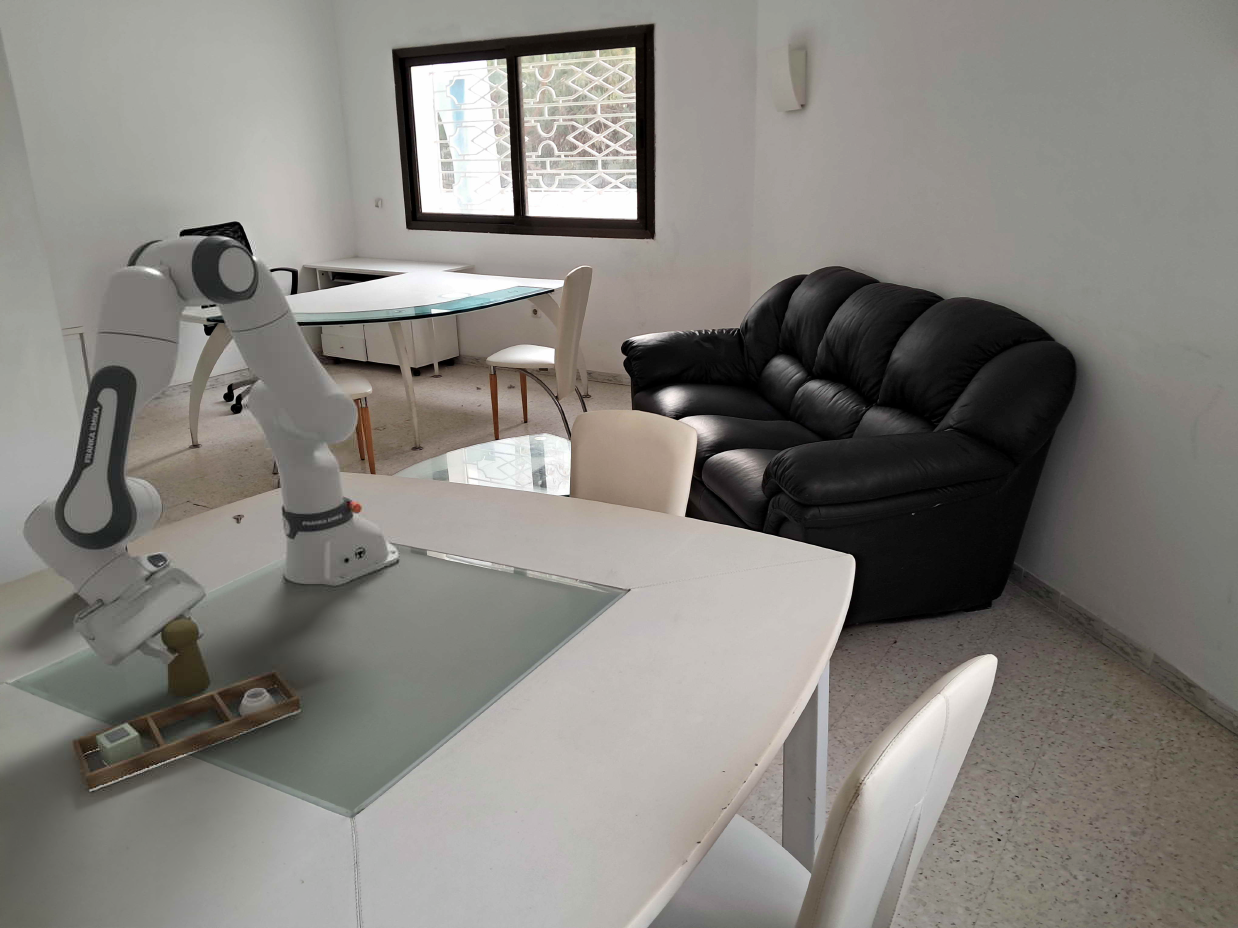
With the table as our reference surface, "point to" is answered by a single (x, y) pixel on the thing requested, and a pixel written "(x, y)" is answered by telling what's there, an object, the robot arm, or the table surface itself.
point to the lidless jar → (255, 701)
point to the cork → (185, 659)
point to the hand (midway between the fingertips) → (186, 649)
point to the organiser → (196, 740)
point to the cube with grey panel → (119, 744)
